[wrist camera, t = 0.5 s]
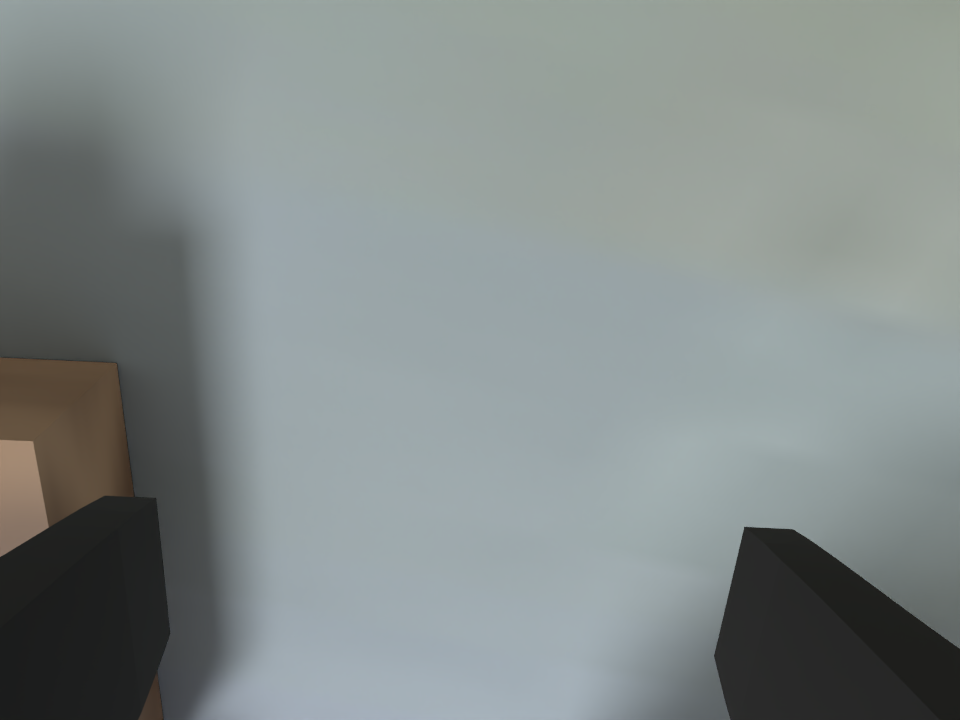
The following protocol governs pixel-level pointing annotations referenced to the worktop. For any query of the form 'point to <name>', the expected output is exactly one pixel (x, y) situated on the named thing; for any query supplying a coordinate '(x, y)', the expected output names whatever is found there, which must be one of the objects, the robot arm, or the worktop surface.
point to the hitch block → (60, 450)
